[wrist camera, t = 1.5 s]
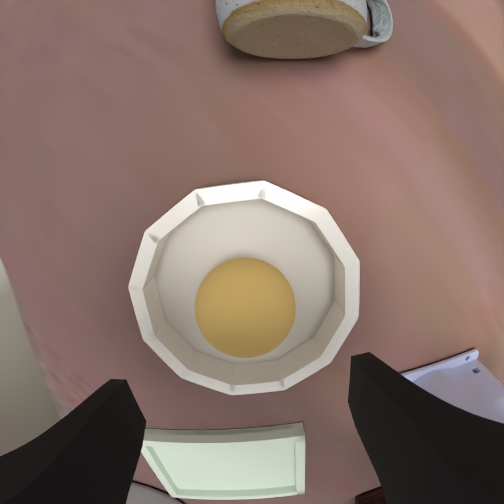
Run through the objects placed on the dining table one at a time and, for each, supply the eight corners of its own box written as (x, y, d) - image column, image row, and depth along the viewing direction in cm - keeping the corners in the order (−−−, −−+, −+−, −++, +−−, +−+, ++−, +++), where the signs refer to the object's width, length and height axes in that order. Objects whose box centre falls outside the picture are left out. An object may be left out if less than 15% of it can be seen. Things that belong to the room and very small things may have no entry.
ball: (285, 241, 16) (300, 270, 12) (291, 322, 18) (305, 371, 13) (195, 252, 16) (174, 284, 12) (210, 330, 18) (198, 381, 13)
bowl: (338, 173, 16) (355, 173, 13) (342, 354, 19) (354, 378, 16) (131, 199, 16) (111, 204, 13) (171, 371, 19) (163, 397, 17)
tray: (302, 422, 21) (305, 435, 19) (302, 482, 24) (304, 493, 22) (138, 427, 21) (134, 439, 20) (173, 487, 24) (171, 497, 22)
